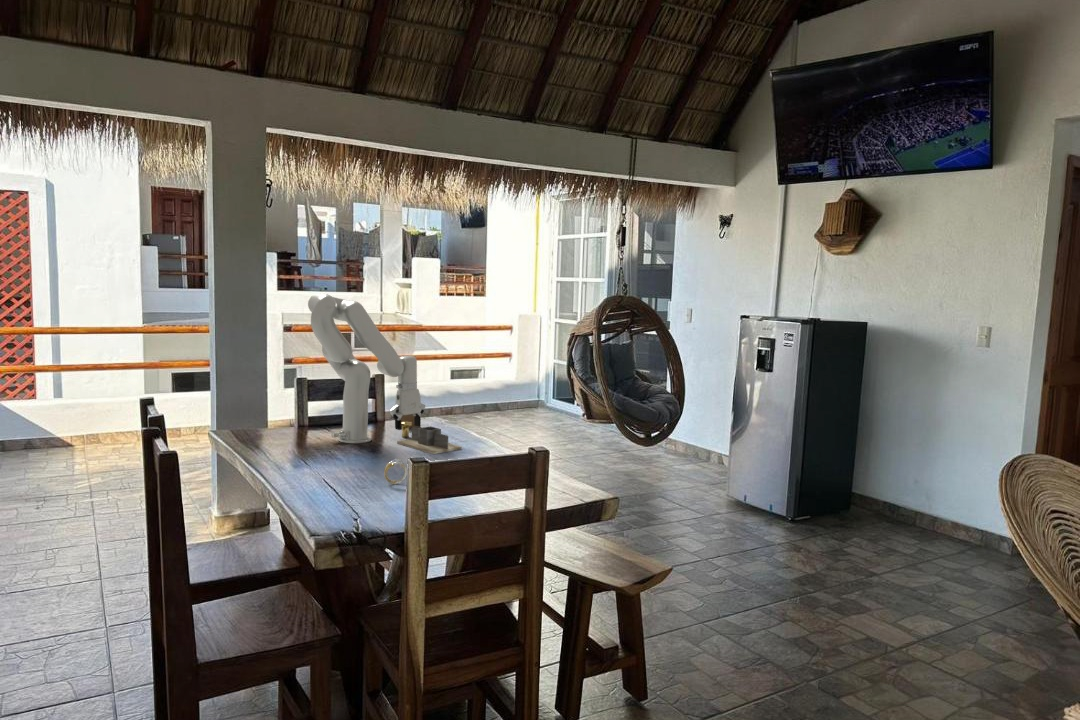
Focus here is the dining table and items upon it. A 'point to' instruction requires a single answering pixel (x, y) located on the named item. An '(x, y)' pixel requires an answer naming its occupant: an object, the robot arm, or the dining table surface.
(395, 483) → the ring
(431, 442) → the hinge base
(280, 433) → the dining table surface
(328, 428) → the dining table surface
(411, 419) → the wooden block
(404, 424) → the round gold knob
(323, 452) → the dining table surface
